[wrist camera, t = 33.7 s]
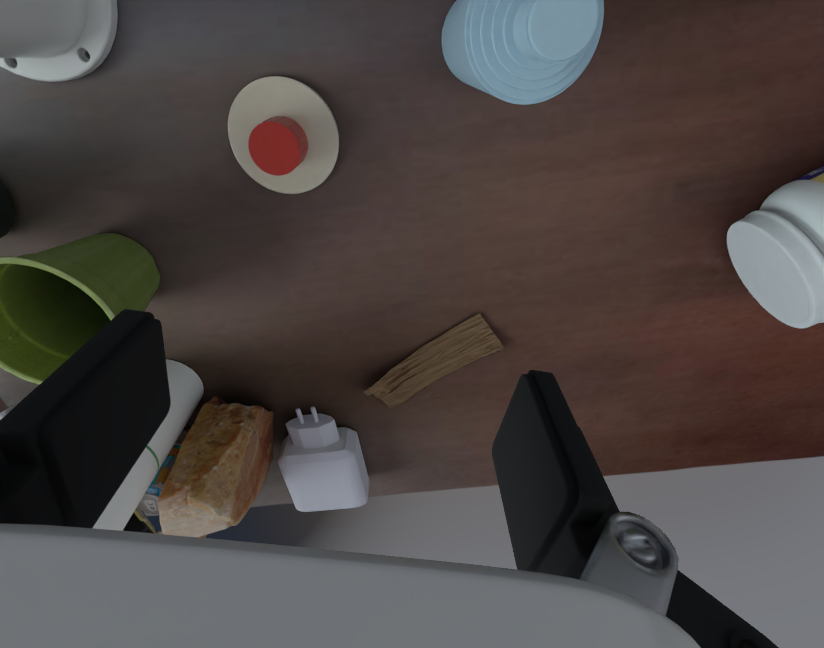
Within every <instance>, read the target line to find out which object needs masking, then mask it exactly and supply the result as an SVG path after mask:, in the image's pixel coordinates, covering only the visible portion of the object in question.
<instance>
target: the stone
mask: <svg viewBox="0 0 824 648" xmlns="http://www.w3.org/2000/svg"><path fill="white" fill-rule="evenodd" d="M273 418H274V413H273V411H267V410H265V409H264V408H263V407H261V406H257V405H252V406H246V405H243V404H241V403H231V404H227V403H226V402H225V401H224V400H223V399H221V398H219V397H213V398H212V399H211V400H210V401H209V402H207V403H205V404H204V405H203V406H202V408H201V410H200V412H199V414H198V416H197V418H196V420H195V423H194V424H193V425H192V427H191V429H190V430H189V432H188V434H187V436H186V437H185V439H184V441H183V442H182V444H181V447H180V450H179V452H178V454H177V458H176V460H175V463H174V465H173V467H172V469H171V472H170V474H169V476H168V478H167V480H166V482H165V484H164V487H163V489H162V491H161V494H160V496H159V499H158V509H159V513H160V524H161V527H162V534H164V535H175V536H186V537H197V538H205V537H206V535H207V534H210V533H213V532H217V531H219V530H223V529H226V528H228V527H229V526H235V525H237V524H238V523H239V522H240V521H241V520H242V518H243V517H244V516H245V514H246V513H247V511H248V509H249V508H250V506H251V505H252V503H253V502H254V500H255V498H256V496H257V494H259V492H260V490H261V488H262V485H263V483H264V481H265V479H266V476H267V472H268V469H269V466H270V463H271V461H272V459H273Z"/></svg>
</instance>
